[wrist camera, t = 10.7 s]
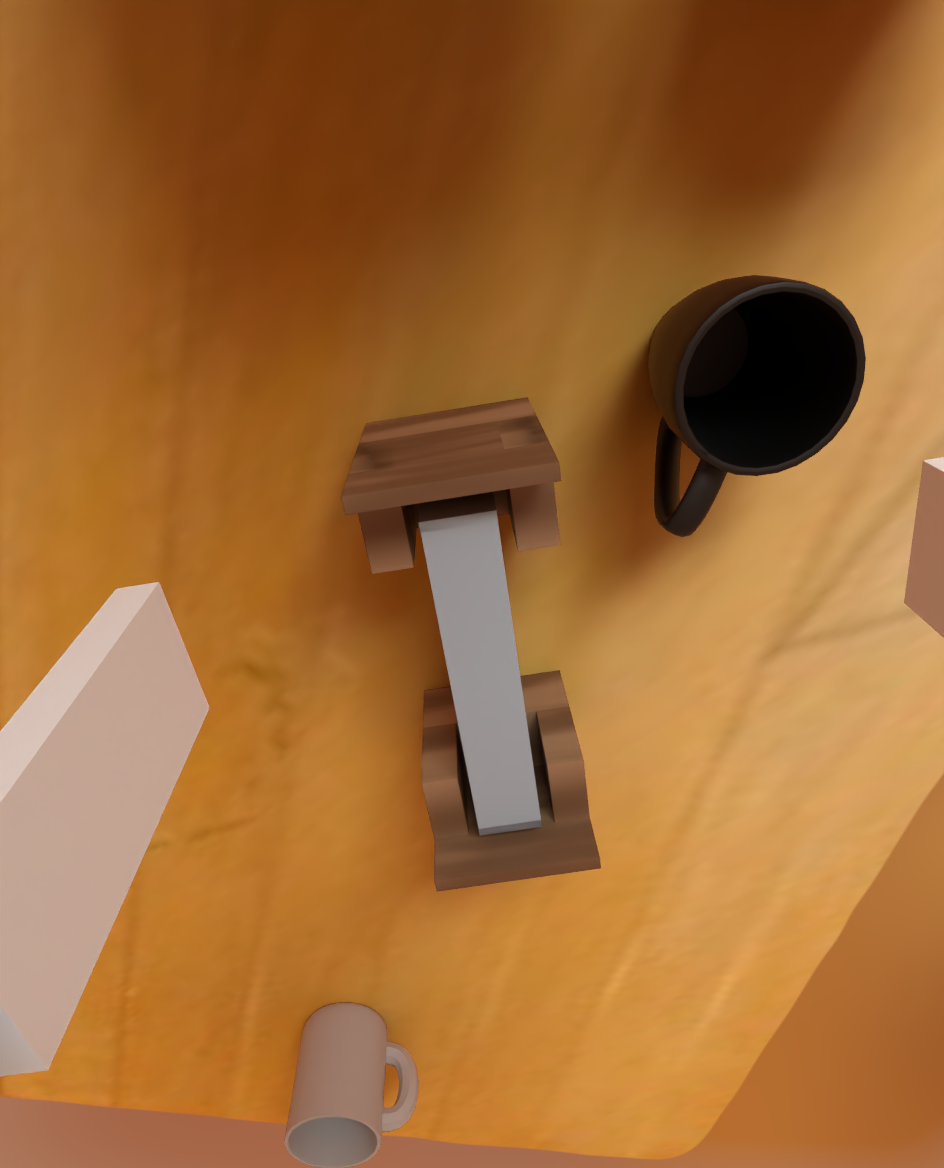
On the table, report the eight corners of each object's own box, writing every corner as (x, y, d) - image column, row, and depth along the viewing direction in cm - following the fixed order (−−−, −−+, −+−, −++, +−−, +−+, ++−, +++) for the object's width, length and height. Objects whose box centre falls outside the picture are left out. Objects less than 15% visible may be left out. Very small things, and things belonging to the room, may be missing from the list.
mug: (566, 451, 42) (598, 510, 34) (673, 238, 38) (741, 244, 29) (689, 504, 44) (749, 573, 36) (806, 306, 39) (907, 331, 31)
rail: (421, 479, 39) (418, 522, 33) (488, 469, 39) (496, 510, 33) (475, 764, 47) (479, 835, 42) (530, 756, 47) (542, 826, 42)
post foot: (424, 690, 49) (420, 823, 38) (559, 670, 49) (593, 798, 38) (437, 750, 51) (436, 891, 41) (566, 731, 51) (600, 868, 40)
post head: (366, 423, 41) (340, 496, 30) (527, 397, 41) (559, 461, 30) (384, 507, 43) (366, 603, 33) (537, 483, 43) (570, 572, 32)
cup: (306, 997, 62) (286, 1112, 54) (425, 1005, 63) (423, 1119, 55) (301, 1050, 65) (282, 1166, 57) (414, 1057, 67) (411, 1172, 59)
